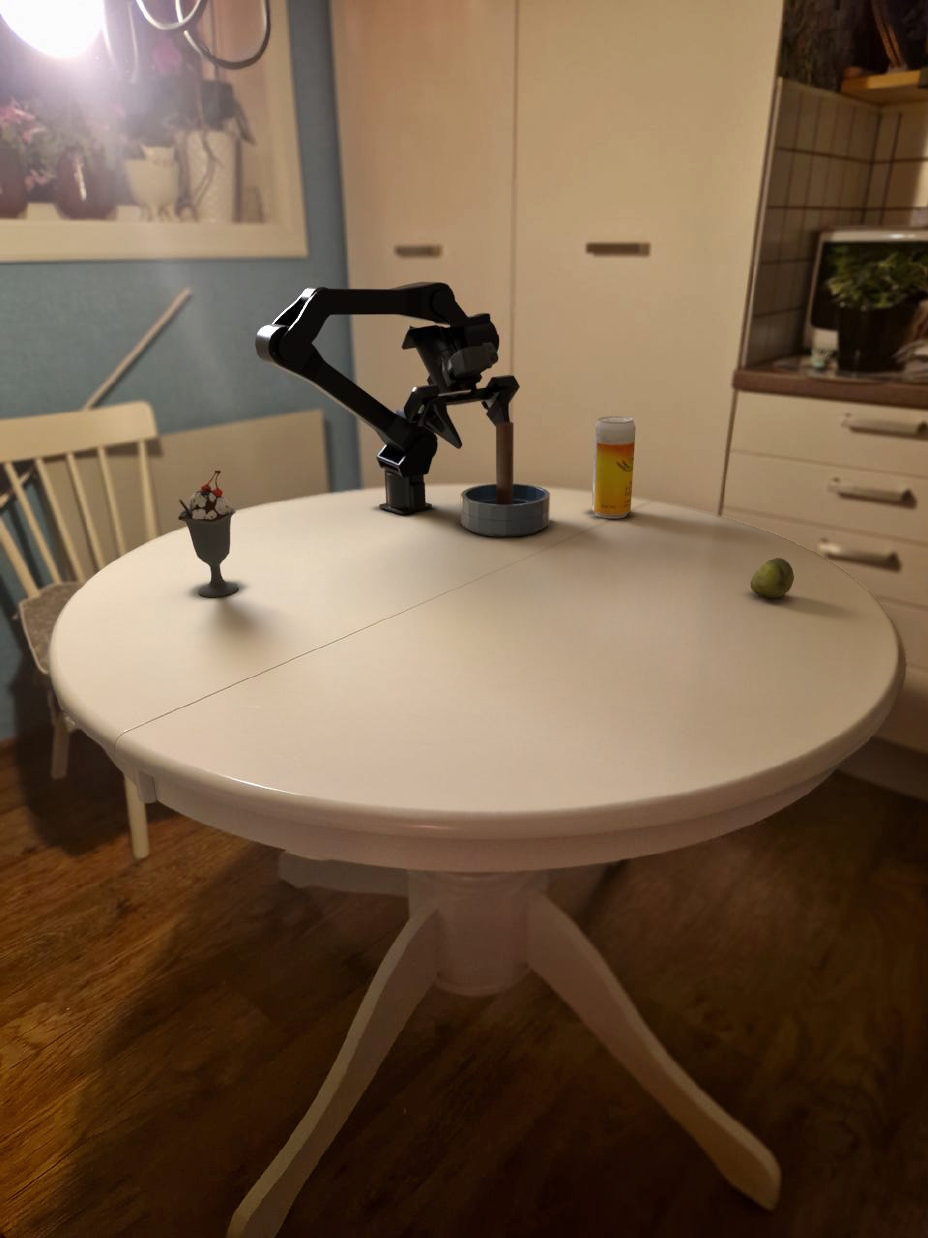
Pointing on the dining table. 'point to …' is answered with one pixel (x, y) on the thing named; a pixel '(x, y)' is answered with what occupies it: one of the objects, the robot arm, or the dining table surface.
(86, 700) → the dining table surface
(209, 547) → the sundae
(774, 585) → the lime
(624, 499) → the beer can
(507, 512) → the bowl
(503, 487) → the stick
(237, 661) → the dining table surface
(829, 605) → the dining table surface
